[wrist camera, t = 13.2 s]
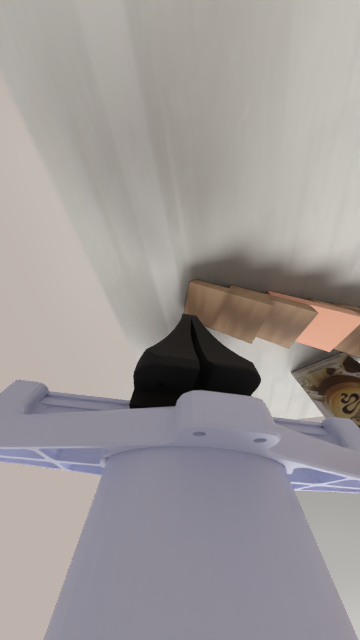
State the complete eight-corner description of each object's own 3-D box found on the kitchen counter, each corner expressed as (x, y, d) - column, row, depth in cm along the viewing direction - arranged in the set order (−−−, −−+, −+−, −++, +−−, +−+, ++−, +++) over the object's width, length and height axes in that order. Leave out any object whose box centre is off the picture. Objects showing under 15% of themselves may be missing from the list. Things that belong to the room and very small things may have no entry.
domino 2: (219, 316, 20) (284, 339, 17) (216, 322, 18) (288, 348, 16) (230, 284, 17) (310, 306, 14) (229, 288, 15) (318, 312, 13)
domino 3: (252, 321, 20) (321, 342, 18) (253, 327, 18) (329, 352, 16) (268, 290, 17) (352, 310, 15) (271, 295, 16) (366, 318, 13)
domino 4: (286, 326, 20) (354, 349, 18) (290, 333, 19) (365, 359, 17) (310, 297, 17) (392, 321, 16) (317, 302, 16) (410, 330, 14)
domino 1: (188, 312, 19) (251, 335, 17) (183, 317, 18) (251, 343, 15) (195, 279, 17) (271, 299, 14) (189, 282, 15) (273, 305, 12)
